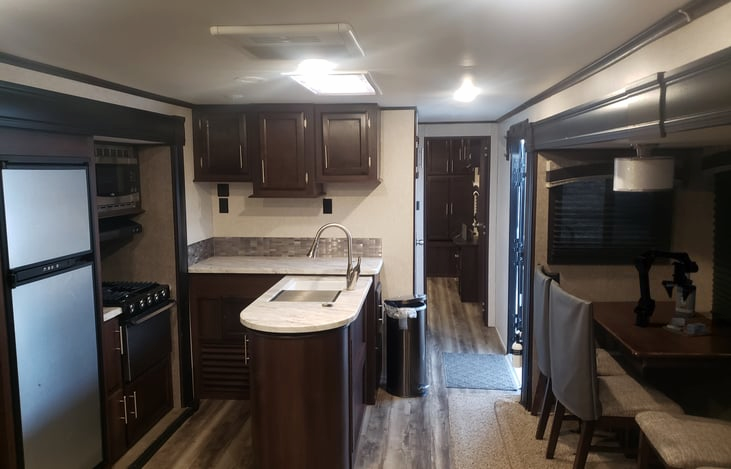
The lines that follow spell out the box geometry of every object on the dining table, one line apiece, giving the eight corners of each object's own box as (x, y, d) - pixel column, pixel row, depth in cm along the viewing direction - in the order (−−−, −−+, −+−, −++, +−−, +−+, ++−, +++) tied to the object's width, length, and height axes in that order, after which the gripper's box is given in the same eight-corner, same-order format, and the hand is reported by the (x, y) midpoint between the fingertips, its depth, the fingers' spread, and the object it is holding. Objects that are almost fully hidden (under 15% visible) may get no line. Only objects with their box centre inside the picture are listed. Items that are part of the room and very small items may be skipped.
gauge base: (687, 337, 278) (688, 326, 278) (662, 328, 294) (663, 319, 293) (708, 334, 282) (708, 324, 282) (682, 326, 298) (682, 317, 297)
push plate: (670, 327, 290) (671, 320, 290) (666, 326, 293) (666, 318, 293) (684, 325, 293) (684, 318, 292) (679, 324, 296) (680, 317, 295)
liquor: (678, 312, 329) (681, 265, 326) (695, 315, 322) (698, 266, 319) (674, 315, 322) (676, 266, 319) (691, 318, 316) (694, 268, 313)
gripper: (704, 275, 296) (702, 302, 298) (676, 270, 314) (674, 296, 316) (689, 276, 293) (687, 303, 295) (661, 270, 311) (659, 296, 312)
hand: (677, 300), depth 304 cm, fingers open, 9 cm apart
